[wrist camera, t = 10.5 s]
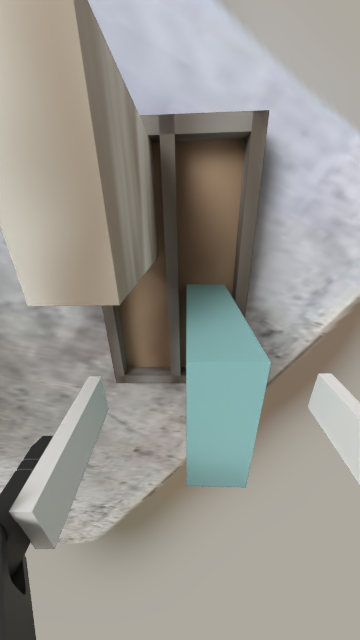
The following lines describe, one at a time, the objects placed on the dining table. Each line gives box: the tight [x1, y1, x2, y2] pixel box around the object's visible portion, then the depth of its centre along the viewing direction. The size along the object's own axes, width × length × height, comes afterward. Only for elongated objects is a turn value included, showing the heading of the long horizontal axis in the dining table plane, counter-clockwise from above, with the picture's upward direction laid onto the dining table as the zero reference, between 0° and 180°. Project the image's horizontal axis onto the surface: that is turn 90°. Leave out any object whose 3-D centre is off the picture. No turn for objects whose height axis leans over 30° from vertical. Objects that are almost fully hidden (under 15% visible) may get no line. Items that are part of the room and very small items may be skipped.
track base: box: [0, 0, 269, 383], centre depth 15 cm, size 13×22×13 cm, turn 1°
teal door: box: [186, 284, 271, 487], centre depth 16 cm, size 4×9×12 cm, turn 1°
